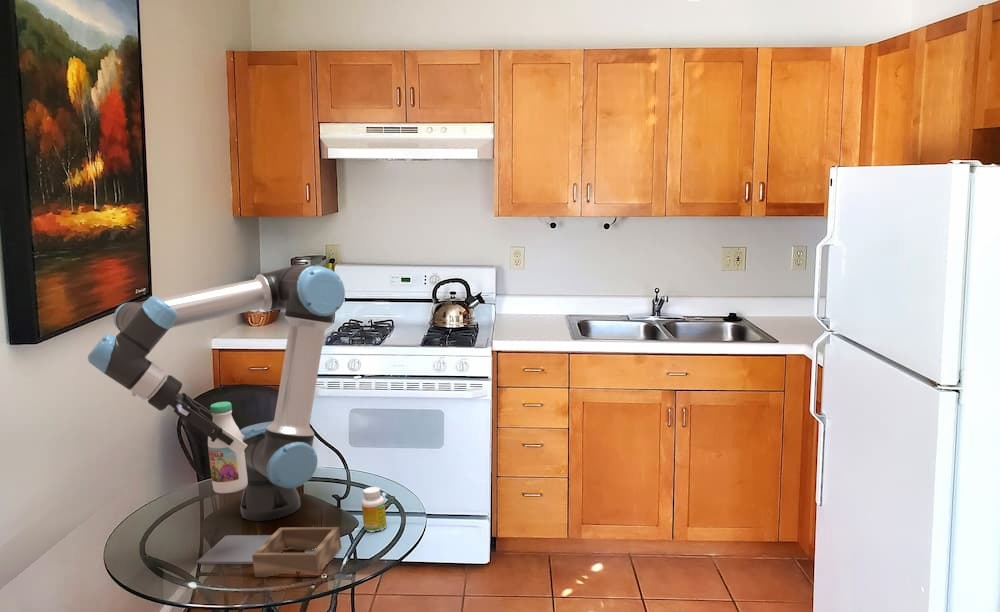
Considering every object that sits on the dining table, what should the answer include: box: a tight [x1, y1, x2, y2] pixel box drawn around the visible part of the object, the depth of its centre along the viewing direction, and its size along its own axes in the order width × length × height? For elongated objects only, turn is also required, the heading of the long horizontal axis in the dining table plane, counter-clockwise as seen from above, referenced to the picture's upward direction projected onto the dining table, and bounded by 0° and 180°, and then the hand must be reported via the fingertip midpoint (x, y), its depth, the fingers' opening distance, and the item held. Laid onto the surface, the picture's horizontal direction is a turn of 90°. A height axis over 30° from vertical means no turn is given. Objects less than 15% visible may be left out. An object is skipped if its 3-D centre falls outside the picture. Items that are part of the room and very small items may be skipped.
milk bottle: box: [207, 401, 248, 494], centre depth 193 cm, size 8×8×20 cm
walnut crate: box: [252, 526, 342, 578], centre depth 188 cm, size 14×14×5 cm
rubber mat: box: [196, 534, 273, 565], centre depth 197 cm, size 14×14×1 cm
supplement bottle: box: [361, 486, 387, 533], centre depth 203 cm, size 5×5×10 cm
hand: (241, 445), depth 194 cm, fingers closed on milk bottle, 7 cm apart
